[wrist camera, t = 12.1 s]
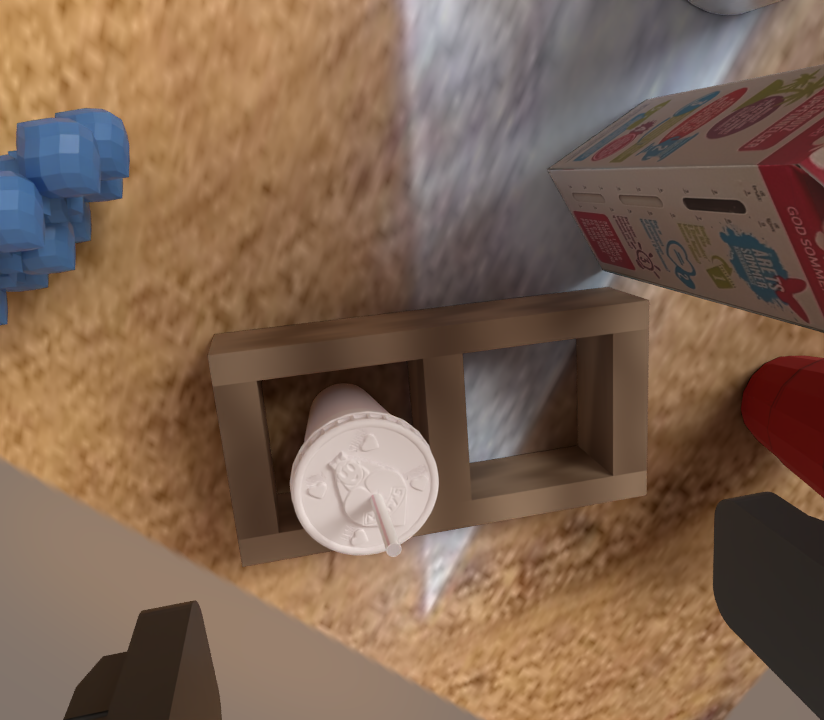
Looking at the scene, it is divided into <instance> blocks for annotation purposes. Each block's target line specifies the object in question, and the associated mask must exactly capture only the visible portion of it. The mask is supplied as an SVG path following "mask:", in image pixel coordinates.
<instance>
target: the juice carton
mask: <svg viewBox="0 0 824 720" xmlns="http://www.w3.org/2000/svg"><path fill="white" fill-rule="evenodd" d="M547 170H548V172H549V174H550V176H551V178H552V180H553V181H554V183H555V185H556V187H557V189H558V190H559V192H560V194H561V196H562V198H563V199H564V201H565V203H566V205H567V207H568V209H569V210H570V212H571V214H572V216H573V218H574V219H575V221H576V223H577V225H578V227H579V228H580V230H581V232H582V234H583V236H584V238H585V239H586V241H587V243H588V245H589V247H590V248H591V250H592V252H593V254H594V256H595V257H596V259H597V261H598V263H599V265H600V266H601V268H602V270H603V271H607V272H610V273H614V274H617V275H621V276H624V277H628V278H631V279H635V280H638V281H642V282H646V283H649V284H653V285H656V286H660V287H663V288H667V289H670V290H674V291H677V292H681V293H685V294H688V295H692V296H695V297H699V298H702V299H706V300H709V301H713V302H716V303H720V304H724V305H727V306H731V307H734V308H738V309H741V310H745V311H748V312H752V313H756V314H759V315H763V316H766V317H770V318H773V319H777V320H780V321H784V322H787V323H791V324H795V325H798V326H802V327H805V328H809V329H812V330H816V331H819V332H823V333H824V65H818V66H813V67H808V68H803V69H798V70H793V71H788V72H783V73H778V74H773V75H768V76H763V77H757V78H752V79H747V80H742V81H737V82H732V83H727V84H722V85H717V86H712V87H707V88H702V89H696V90H691V91H686V92H681V93H676V94H671V95H666V96H661V97H656V98H651V99H647V100H645V101H644V102H643V103H641V104H640V105H638V106H637V107H635V108H634V109H633V110H631V111H630V112H628V113H627V114H625V115H624V116H623V117H621V118H620V119H618V120H617V121H615V122H614V123H613V124H611V125H610V126H608V127H607V128H605V129H604V130H603V131H601V132H600V133H598V134H597V135H595V136H594V137H593V138H591V139H590V140H588V141H587V142H585V143H584V144H583V145H581V146H580V147H578V148H577V149H575V150H574V151H573V152H571V153H570V154H568V155H567V156H566V157H564V158H563V159H561V160H560V161H558V162H557V163H556V164H554V165H553V166H551V167H550V168H548V169H547Z"/></svg>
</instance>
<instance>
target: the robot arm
mask: <svg viewBox="0 0 824 720" xmlns="http://www.w3.org/2000/svg"><path fill="white" fill-rule="evenodd" d="M688 1H689V2H690V3H691V4H693V5H694V6H696V7H699V8H701V9H703V10H705V11H707V12H710V13H715V14H720V15H735V14H742V13H745V12H748V11H752V10H755V9H758V8H761V7H764V6H767V5H770V4H773V3H776V2H779V1H782V0H688ZM713 590H714V596H715V600H716V603H717V606H718V609H719V611H720V613H721V615H722V617H723V619H724V620H725V622H726V623H727V625H728V626H729V627H730V628H731V629H732V630H733V631H734V632H735V633H736V634H737V635H738V636H739V637H740V638H741V639H742V640H743V641H744V642H745V643H746V644H747V645H748V646H749V647H750V648H751V649H752V650H753V652H754V653H755V654H756V655H757V656H758V657H759V658H760V659H761V660H762V661H763V662H764V663H765V664H766V665H767V666H768V667H769V668H770V669H771V670H772V671H773V672H774V673H775V674H776V675H777V676H778V677H779V678H780V679H781V680H782V681H783V682H784V683H785V684H786V685H787V686H788V687H789V688H790V689H791V690H792V691H793V692H794V693H795V694H796V695H797V696H798V697H799V698H800V699H801V700H802V701H803V702H804V703H805V704H806V705H807V706H808V707H809V708H810V709H811V710H812V711H813V712H814V713H815V714H816V715H817V716H818V717H819V718H820V720H824V521H822V520H820V519H817V518H814V517H811V516H808V515H807V514H805V513H804V512H802V511H801V510H799V509H798V508H796V507H795V506H793V505H791V504H790V503H788V502H787V501H785V500H784V499H782V498H781V497H779V496H778V495H776V494H774V493H772V492H761V493H756V494H751V495H745V496H740V497H735V498H730V499H725V500H722V501H720V502H719V503H718V505H717V507H716V510H715V519H714V563H713ZM63 720H222V717H221V704H220V696H219V690H218V685H217V681H216V676H215V671H214V667H213V662H212V658H211V653H210V648H209V644H208V639H207V635H206V631H205V626H204V621H203V616H202V613H201V609H200V606H199V604H198V602H197V601H190V602H184V603H179V604H174V605H169V606H164V607H159V608H154V609H148V610H143V611H141V613H140V614H139V616H138V619H137V623H136V626H135V629H134V632H133V635H132V638H131V642H130V645H129V648H128V651H127V652H123V653H118V654H113V655H108V656H103V657H102V658H101V659H100V661H99V662H98V663H97V664H96V665H95V666H94V667H93V669H92V670H91V671H90V672H89V673H88V674H87V675H86V676H85V678H84V679H83V680H82V681H81V682H80V683H79V685H78V686H77V687H76V689H75V691H74V694H73V696H72V699H71V701H70V704H69V707H68V709H67V712H66V714H65V717H64V719H63Z"/></svg>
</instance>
